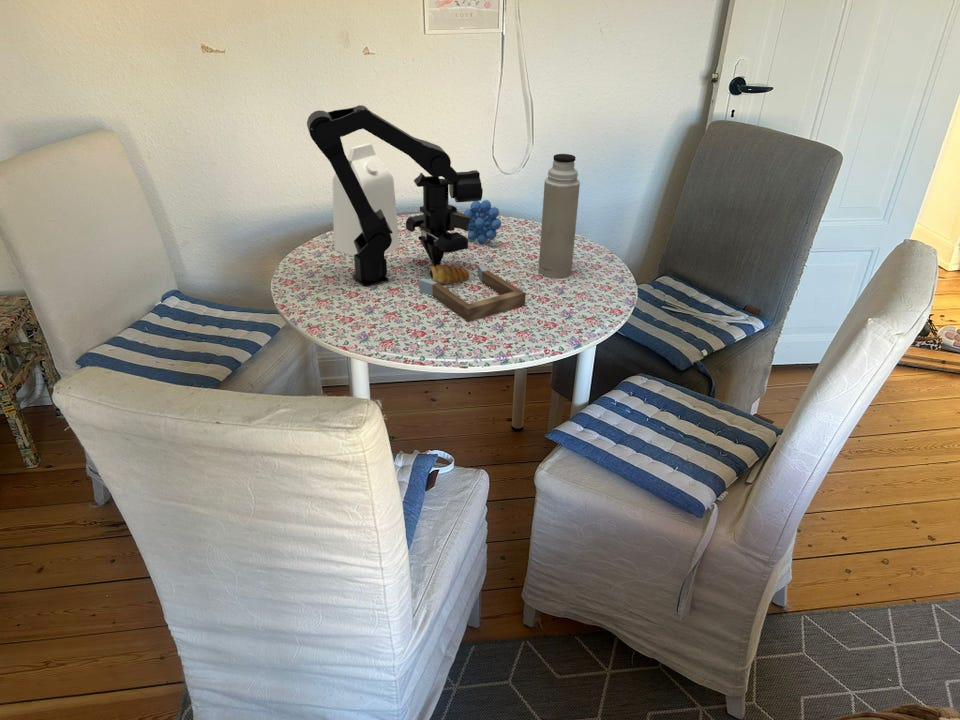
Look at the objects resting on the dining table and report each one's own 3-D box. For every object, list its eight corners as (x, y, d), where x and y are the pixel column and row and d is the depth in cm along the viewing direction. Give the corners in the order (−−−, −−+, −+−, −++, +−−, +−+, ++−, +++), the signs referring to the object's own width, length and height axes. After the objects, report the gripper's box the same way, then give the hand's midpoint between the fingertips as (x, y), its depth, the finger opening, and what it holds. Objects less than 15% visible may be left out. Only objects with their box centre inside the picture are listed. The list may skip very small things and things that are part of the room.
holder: (462, 323, 150) (462, 310, 148) (418, 291, 163) (417, 279, 162) (529, 303, 159) (530, 291, 157) (482, 275, 172) (482, 263, 170)
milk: (367, 236, 192) (361, 137, 179) (399, 247, 186) (395, 145, 173) (334, 249, 184) (325, 146, 170) (366, 261, 178) (359, 155, 165)
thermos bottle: (531, 269, 175) (539, 154, 161) (556, 262, 179) (565, 149, 165) (553, 281, 170) (563, 162, 155) (578, 273, 174) (589, 157, 160)
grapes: (508, 243, 190) (510, 199, 184) (494, 251, 185) (496, 206, 179) (472, 234, 195) (472, 190, 189) (457, 241, 190) (458, 197, 184)
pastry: (464, 273, 173) (465, 258, 171) (472, 284, 168) (472, 269, 166) (426, 276, 171) (426, 261, 169) (433, 288, 166) (432, 273, 164)
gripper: (488, 209, 161) (486, 273, 169) (444, 187, 174) (444, 247, 182) (446, 217, 155) (446, 283, 163) (403, 194, 168) (405, 256, 176)
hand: (436, 267), depth 171 cm, fingers closed
